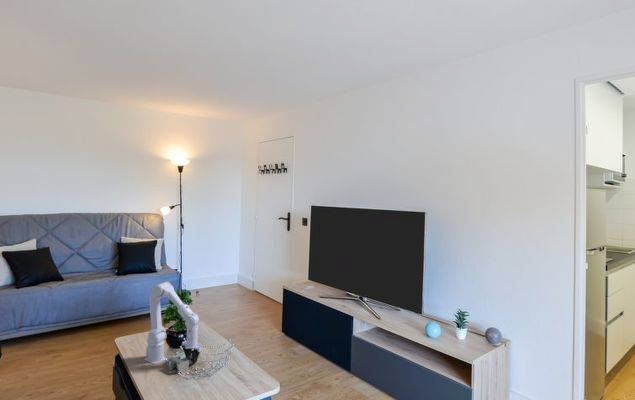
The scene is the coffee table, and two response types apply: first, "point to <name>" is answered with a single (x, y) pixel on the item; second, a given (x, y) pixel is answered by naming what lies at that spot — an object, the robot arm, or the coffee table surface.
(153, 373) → the coffee table surface
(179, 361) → the socket
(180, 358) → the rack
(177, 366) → the drill
